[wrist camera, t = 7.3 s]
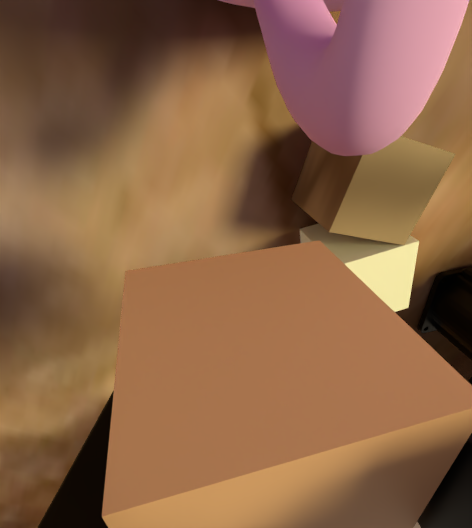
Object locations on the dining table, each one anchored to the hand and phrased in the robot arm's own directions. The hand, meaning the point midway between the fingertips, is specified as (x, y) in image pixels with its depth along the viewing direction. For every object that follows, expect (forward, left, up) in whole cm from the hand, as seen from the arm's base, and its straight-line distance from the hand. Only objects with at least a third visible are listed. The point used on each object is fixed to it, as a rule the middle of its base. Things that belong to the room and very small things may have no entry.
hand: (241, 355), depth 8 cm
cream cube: (-5, -10, -12) cm, 16 cm away
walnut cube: (+1, -9, -12) cm, 15 cm away
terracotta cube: (0, 0, -1) cm, 1 cm away
